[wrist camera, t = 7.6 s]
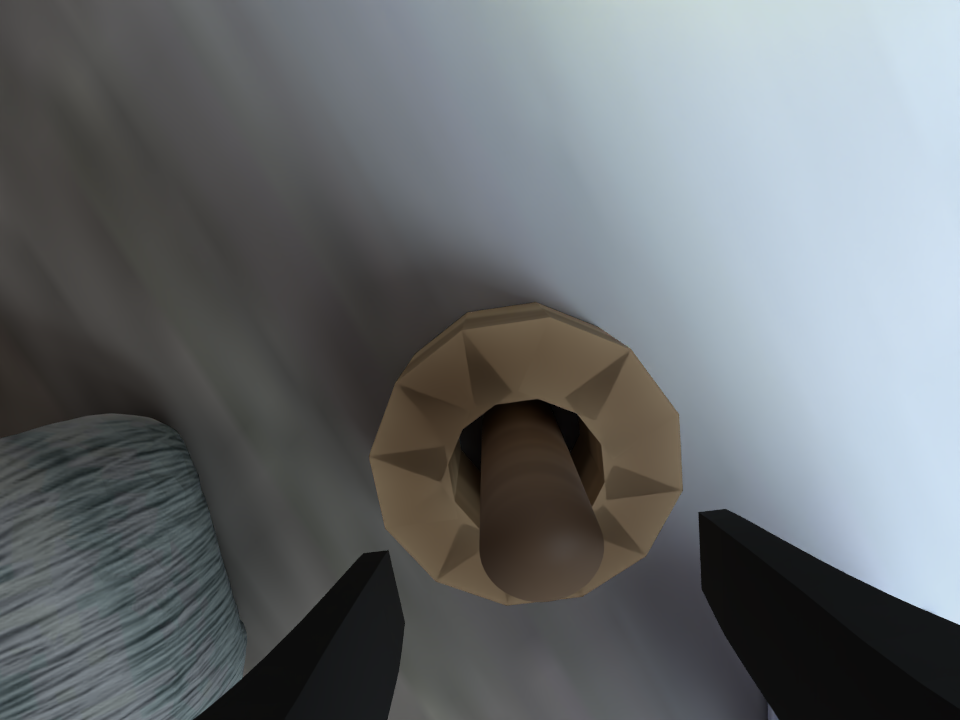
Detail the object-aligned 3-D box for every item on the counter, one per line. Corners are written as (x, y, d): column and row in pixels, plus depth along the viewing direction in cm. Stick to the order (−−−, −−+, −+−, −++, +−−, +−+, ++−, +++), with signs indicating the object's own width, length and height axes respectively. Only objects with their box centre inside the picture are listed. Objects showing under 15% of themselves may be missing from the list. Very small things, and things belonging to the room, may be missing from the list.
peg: (558, 452, 19) (608, 594, 11) (487, 461, 19) (488, 608, 11) (550, 385, 18) (598, 486, 10) (477, 395, 18) (470, 501, 11)
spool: (306, 740, 18) (-73, 1082, 10) (177, 665, 23) (-160, 851, 14) (307, 408, 19) (-67, 450, 10) (178, 399, 23) (-157, 421, 14)
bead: (647, 517, 20) (687, 584, 16) (421, 545, 20) (405, 617, 16) (630, 287, 17) (673, 299, 13) (375, 325, 18) (344, 347, 14)
